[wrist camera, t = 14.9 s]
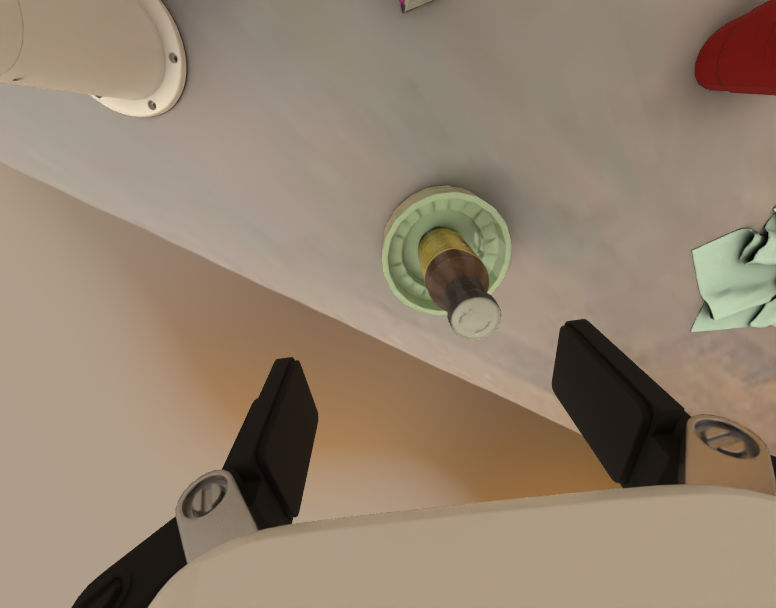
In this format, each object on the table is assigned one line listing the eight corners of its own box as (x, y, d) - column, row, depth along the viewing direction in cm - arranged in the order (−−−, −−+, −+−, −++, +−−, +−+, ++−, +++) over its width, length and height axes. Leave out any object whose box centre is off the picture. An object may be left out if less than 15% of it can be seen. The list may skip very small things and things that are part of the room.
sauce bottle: (465, 262, 43) (518, 349, 26) (420, 272, 44) (443, 363, 26) (459, 217, 40) (515, 280, 23) (411, 228, 41) (431, 297, 24)
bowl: (373, 284, 46) (372, 303, 40) (395, 173, 39) (397, 179, 33) (474, 302, 47) (485, 323, 42) (513, 198, 40) (532, 208, 35)
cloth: (785, 332, 50) (803, 341, 48) (651, 330, 50) (662, 339, 48) (884, 200, 40) (912, 204, 38) (718, 197, 40) (737, 200, 38)
